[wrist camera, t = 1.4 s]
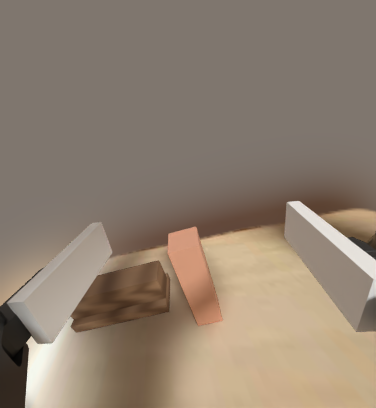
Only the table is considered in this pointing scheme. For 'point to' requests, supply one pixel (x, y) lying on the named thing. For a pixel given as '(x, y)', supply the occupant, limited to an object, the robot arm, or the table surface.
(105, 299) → the brown wooden block
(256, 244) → the table surface
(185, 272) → the rod
